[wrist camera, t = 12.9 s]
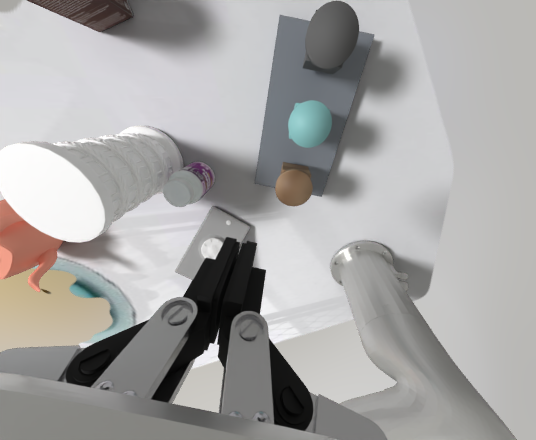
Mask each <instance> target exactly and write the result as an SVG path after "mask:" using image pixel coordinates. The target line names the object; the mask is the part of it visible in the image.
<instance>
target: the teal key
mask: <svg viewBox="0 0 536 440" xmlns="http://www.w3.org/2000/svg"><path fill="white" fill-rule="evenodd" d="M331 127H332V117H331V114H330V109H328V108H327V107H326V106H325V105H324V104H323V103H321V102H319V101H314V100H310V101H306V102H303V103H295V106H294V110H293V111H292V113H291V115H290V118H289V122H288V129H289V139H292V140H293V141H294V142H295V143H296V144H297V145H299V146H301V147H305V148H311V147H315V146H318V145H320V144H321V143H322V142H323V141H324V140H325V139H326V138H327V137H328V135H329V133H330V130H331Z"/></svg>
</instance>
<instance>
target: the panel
mask: <svg viewBox="0 0 536 440" xmlns="http://www.w3.org/2000/svg"><path fill="white" fill-rule="evenodd" d="M309 23H310V21H307V20H302V19H298V18H293V17H288V16H283V15H280V17H279V24H278V30H277V37H276V44H275V50H274V57H273V64H272V70H271V77H270V84H269V91H268V97H267V104H266V111H265V117H264V124H263V131H262V137H261V144H260V151H259V157H258V164H257V171H256V177H255V184H259V185H264V186H269V187H274V188H275V187H276V181H277V179H278V177H279V176H280V173H281V168H282V163H283V162H287V163H292V164H297V165H302V166H307V167H308V168H309V171H310V173H311V178H310V179H311V182H312V186H313V190H312V194H311V195H316V196H321V197H322V194H323V191H324V188H325V185H326V182H327V179H328V176H329V173H330V170H331V167H332V164H333V160H334V157H335V154H336V151H337V148H338V145H339V142H340V139H341V136H342V133H343V130H344V127H345V124H346V121H347V118H348V115H349V111H350V108H351V105H352V102H353V99H354V96H355V93H356V90H357V87H358V84H359V81H360V78H361V75H362V72H363V69H364V66H365V62H366V59H367V56H368V53H369V50H370V47H371V44H372V41H373V38H374V34H369V33H364V32H360V31H359V35H358V40H357V43H356V46H355V48H354V50H353V52H352V54H351V55H350V56H349V58H348V59H347V60H346V61H345V62H344V63H343V66H342V68H341V69H340V70H338V71H337V72H336V73H334V74H328V73H323V72H318V71H314V70H309V69H304V68H303V63H304V58H305V53H306V48H305V38H306V33H307V29H308V26H309ZM310 100H314V101H319V102H321V103H323V104H324V105H325V106H326V107H327V108H328V109H330V114H331V117H332V127H331V130H330V133H329V135H328V137H327V138H326V139H325V140H324V141H323V142H322V143H321V144H320V145H318V146H315V147H311V148H305V147H301V146H299V145H297V144H296V143H295V142H294V141H293V140H292V139H289V129H288V122H289V118H290V115H291V113H292V111H293V110H294V106H295V103H303V102H306V101H310Z"/></svg>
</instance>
